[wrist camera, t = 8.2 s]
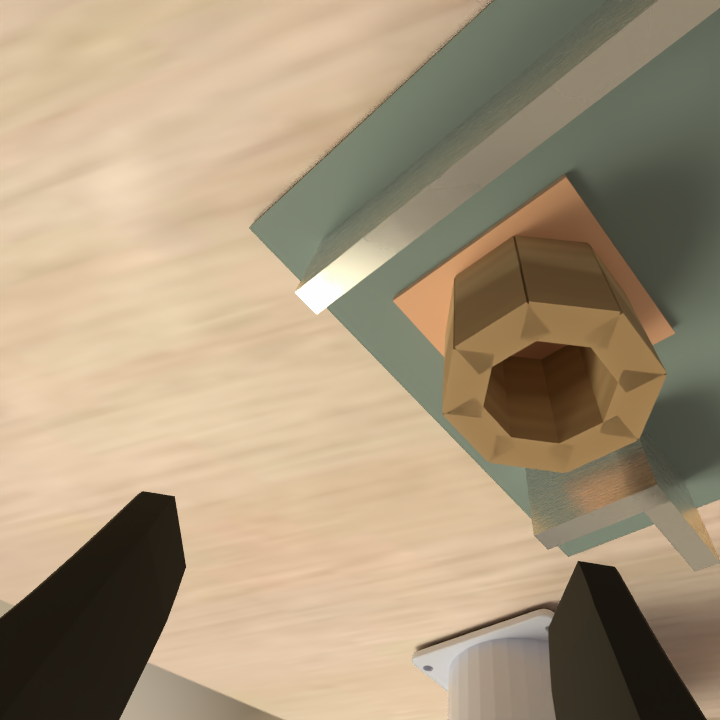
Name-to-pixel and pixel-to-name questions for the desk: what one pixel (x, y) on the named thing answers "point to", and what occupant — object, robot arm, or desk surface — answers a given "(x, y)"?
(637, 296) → the pad
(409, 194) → the metal walled tray
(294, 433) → the desk surface
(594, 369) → the oak ring
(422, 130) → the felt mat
